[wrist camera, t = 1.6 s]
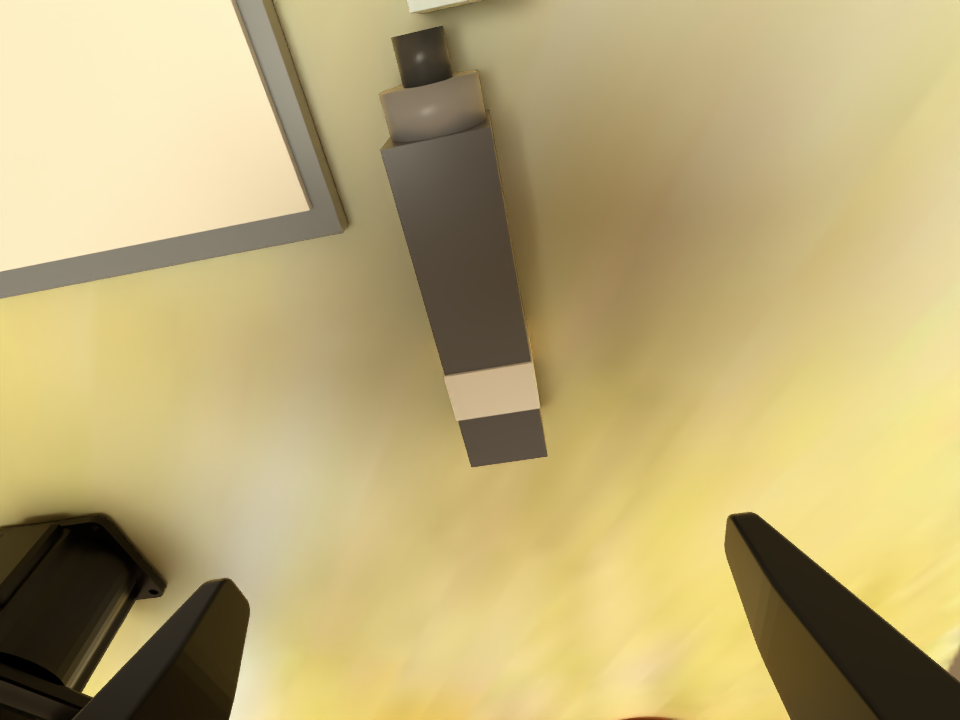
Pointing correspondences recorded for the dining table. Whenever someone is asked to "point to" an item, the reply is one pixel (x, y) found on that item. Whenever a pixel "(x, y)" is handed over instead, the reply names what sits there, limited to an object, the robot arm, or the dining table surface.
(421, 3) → the pale blue marker
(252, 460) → the dining table surface
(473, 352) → the black marker
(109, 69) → the whiteboard
